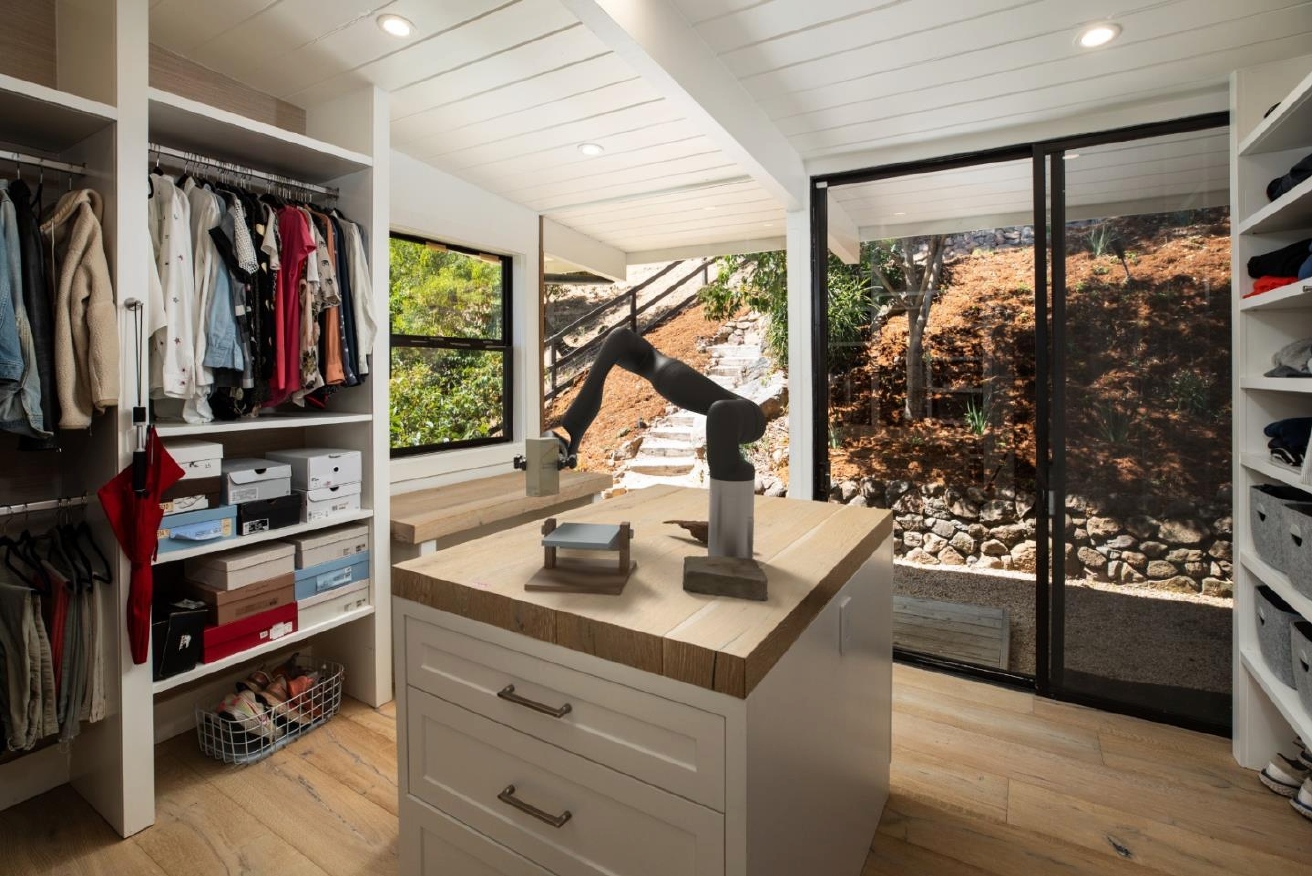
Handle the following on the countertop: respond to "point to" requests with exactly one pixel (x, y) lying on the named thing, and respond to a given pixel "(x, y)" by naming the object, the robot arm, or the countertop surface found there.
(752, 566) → the grey brown flat block
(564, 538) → the trapdoor flap
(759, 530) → the countertop surface
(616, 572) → the frame
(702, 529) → the bird sculpture
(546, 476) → the skincare box
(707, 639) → the countertop surface
